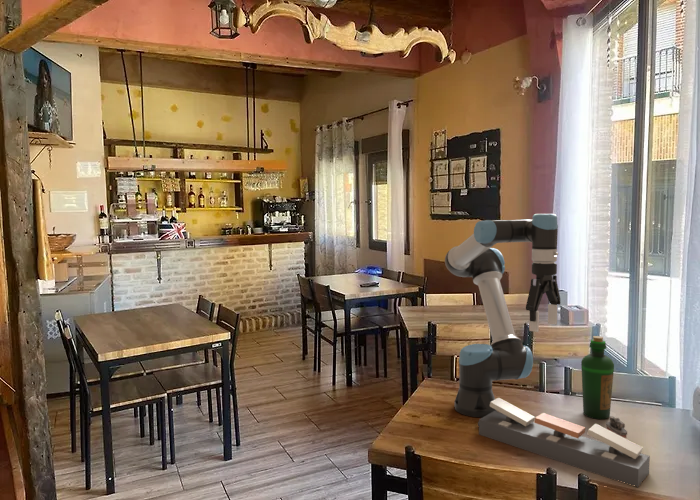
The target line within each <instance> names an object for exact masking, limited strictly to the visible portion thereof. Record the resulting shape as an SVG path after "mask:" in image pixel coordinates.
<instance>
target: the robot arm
mask: <svg viewBox="0 0 700 500" xmlns="http://www.w3.org/2000/svg"><path fill="white" fill-rule="evenodd" d="M558 228H559V224H558V215H556V214H555V213H535V214H533V215H532V219H528V218H527V219H526V218H523V219H498V220H497V219H496V220H495V219H492V220H491V219H486V220H479V221H477V222H476V223H475V226H474V228H473V233H472V234H471V235H470V236H469V237H468V238H466V239H465V240H464V241H463V242H462V243H460V244H459V245H455V246H453V247H452V248H450V249H449V250H448V252H446V254H445V257H444V265H445V267H446V270H448V271H449V273H451V274H452V275H454V276H456V277H458V278H459V277H460V278H461V277H462V278H472V282H473V284H474V285H476V286H478V289H479V293H480V294H479V295H480V297H481V301H482V304H483V309H484V313H485V317H486V321H487V324H488V328H489V331H490V335H491V341H492V342H491V343H490V344H487V343H472V344H468V345H466V346H464V347H462V348H461V349H460V350H459V351H460V352H459V357H458V358H459V359H458V365H459V367H458V368H459V369H458V371H459V375H458V376H459V382H458V383H459V386H458V391H457V393H456V395H455V399H454V407H455V408H454V410H455V411H456V413H457V412H458V413H459V414H460V415H463V416H468V417H473V418H475V417H476V418H483V417H484V416H486V415H488V414H490V413H491V412H493V411H497V410H495V409H494V408H492V407H490V402H491V401H493V400H495V399H496V398H495V394H494V392H493V382H494V381H507V380H508V381H509V380H519V379H525V378H527V377H528V376H530V374H531V373H532V371H533V365H534V357H533V356H534V355H533V352H532V351H531V350H532V349H531V348H530V347H529V346H527V345H523V342H522V339H521V338H520V337H518V336H517V335H516V333H515V329H514V326H513V321H512V318H511V315H510V313H509V308H508V305H507V301H506V298H505V295H504V291H503V287H502V283H501V279H502V278H503V274H504V273H505V270H506V268H505V267H506V266H505V264H506V263H505V259H504V255H503V254H502V252H501V251H500V250H499V249H497V248H495V247H493V246H495V245H497V244H499V243H500V244H501V243H504V244H505V243H531V245H532V246H531V261H532V262H531V274H533V275H535V278H531V279H530V287H529V291H528V296H527V300H526V305H525V310H526V311H529V316H528V317H529V319H528V320H529V321H528V322H529V323H528V324H529V326H528V327H529V329H528V331H529V332H535V333H539V331H540V329H539V325H540V322H539V321H540V320H539V318H540V317H539V315H540V312H539V310H538V309H539V307H540V304H541V302H542V298H543V295H545V296H546V297H547V300H548V302H549V303H548V305H547V324H549V325H558V305H561V296H560V290H559V286H558V281H557V280H558V277H557V272H558V264H557V263H556V262H557V260H558V255H559V252H558V231H559V229H558ZM497 412H498V411H497Z"/></svg>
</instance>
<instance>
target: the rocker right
mask: <svg viewBox="0 0 700 500" xmlns="http://www.w3.org/2000/svg"><path fill="white" fill-rule="evenodd" d="M586 435H588V436H590V437H592V438H593V439H595V440H597V441H600V442H603V443H605V444H607V445H609V446H611V447H613V448H615V449H617V450H619V451H620V452H622V453H624V454H626V455H628V456H630V457H632V458H634V459H636V458H637V457H638V456H639V455H640V454H641V453H643V449H644V447H643V446H642V445H639V444H638V443H635V442H633V441H631V440H629V439H627V438H626V439H625V438H623V437H622V436H620V435H618V434H616V433H614V432H612V431H610V430H608V429H607V427H606V428H605V427H603V426H601V425H599V424H598V423H594V424H593V425H592V426H591V427H590V428H588V430H587V433H586Z"/></svg>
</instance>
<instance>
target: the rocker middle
mask: <svg viewBox="0 0 700 500" xmlns="http://www.w3.org/2000/svg"><path fill="white" fill-rule="evenodd" d="M534 422H535V423H537V424H540V425H542V426H545V427H548V428H551V429H553V430H556V431H559V432H562V433H564V434H567V435H570V436H572V437H575V438H579V437H580V436H583V435H584V434H585V433H586V427H585V426H582V425H579V424H578V423H577V424H576V423H574V422H571V421H568V420H565V419H562V418H560V417H558V416H554V415H550V414H548V413H545V412H542V413H540V414H539V415H537V416H535V418H534Z"/></svg>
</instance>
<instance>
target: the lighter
mask: <svg viewBox="0 0 700 500" xmlns="http://www.w3.org/2000/svg"><path fill="white" fill-rule="evenodd" d="M605 425H606V429H608V430H610V431H612V432H614V433H616V434H618V435H620V436H622V437H623V438H625V439H627V435H628V430H627V429H625V427H626V425H625V422H623V421H621V420H620V418H619V417H616V416H610V417H609V421H606V423H605Z"/></svg>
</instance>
